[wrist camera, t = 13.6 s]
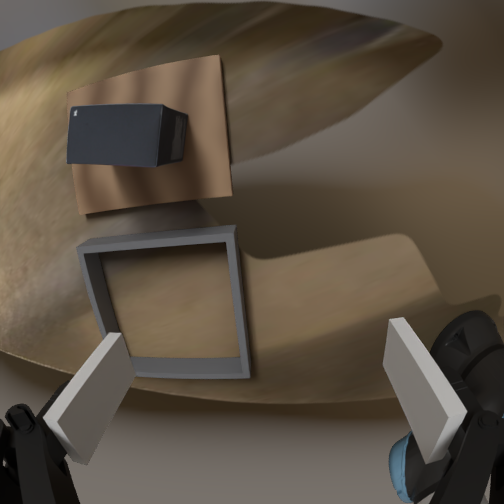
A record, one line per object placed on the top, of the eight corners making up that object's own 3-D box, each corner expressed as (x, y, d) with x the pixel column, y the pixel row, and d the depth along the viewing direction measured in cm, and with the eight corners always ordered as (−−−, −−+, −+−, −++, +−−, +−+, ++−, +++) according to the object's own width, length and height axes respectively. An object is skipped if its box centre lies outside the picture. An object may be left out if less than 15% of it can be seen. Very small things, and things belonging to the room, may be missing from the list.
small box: (107, 160, 36) (63, 166, 26) (112, 111, 34) (68, 103, 24) (183, 164, 36) (155, 170, 26) (189, 112, 34) (163, 100, 24)
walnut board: (220, 58, 33) (219, 54, 32) (233, 194, 39) (232, 195, 38) (72, 93, 35) (66, 92, 33) (84, 212, 40) (79, 214, 39)
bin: (236, 224, 40) (233, 232, 36) (251, 361, 47) (250, 378, 43) (89, 238, 41) (76, 247, 38) (124, 360, 48) (116, 374, 45)
